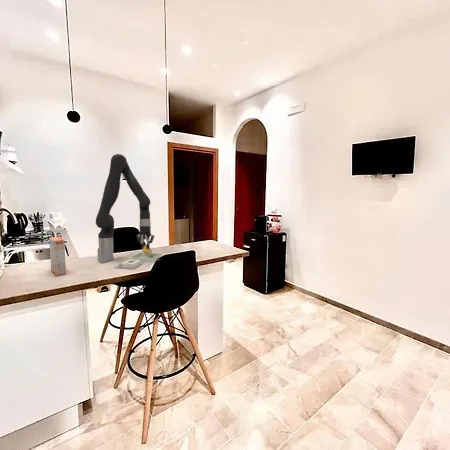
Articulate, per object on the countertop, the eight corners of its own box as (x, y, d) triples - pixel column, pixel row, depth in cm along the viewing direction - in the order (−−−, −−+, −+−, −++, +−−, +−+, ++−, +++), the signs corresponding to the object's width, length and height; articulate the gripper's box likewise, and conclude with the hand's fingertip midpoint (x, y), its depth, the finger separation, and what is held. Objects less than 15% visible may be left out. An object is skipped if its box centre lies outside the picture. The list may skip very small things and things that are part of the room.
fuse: (147, 256, 196) (142, 251, 187) (148, 250, 198) (143, 244, 189) (151, 256, 195) (146, 251, 186) (152, 250, 198) (147, 244, 189)
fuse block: (112, 269, 166) (112, 263, 165) (124, 263, 180) (124, 258, 179) (133, 271, 164) (133, 264, 164) (143, 265, 178) (143, 259, 177)
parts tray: (128, 262, 184) (128, 257, 183) (139, 256, 199) (139, 252, 199) (152, 263, 181) (152, 258, 181) (161, 258, 197) (161, 253, 196)
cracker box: (66, 274, 155) (64, 239, 152) (54, 276, 151) (52, 240, 148) (61, 268, 165) (60, 236, 162) (50, 270, 161) (48, 237, 158)
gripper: (133, 225, 184) (133, 249, 186) (152, 226, 182) (152, 250, 184) (138, 224, 191) (138, 247, 193) (156, 224, 189) (156, 248, 191)
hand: (145, 248), depth 188 cm, fingers closed on fuse, 3 cm apart
